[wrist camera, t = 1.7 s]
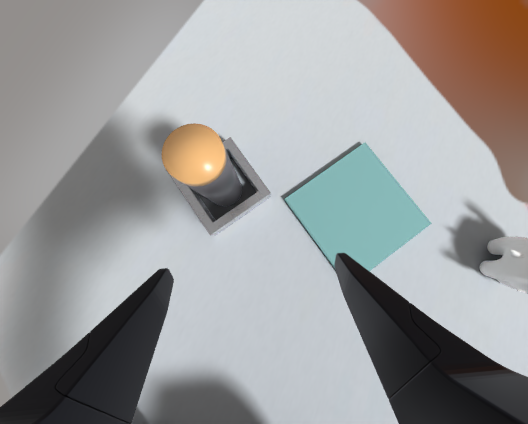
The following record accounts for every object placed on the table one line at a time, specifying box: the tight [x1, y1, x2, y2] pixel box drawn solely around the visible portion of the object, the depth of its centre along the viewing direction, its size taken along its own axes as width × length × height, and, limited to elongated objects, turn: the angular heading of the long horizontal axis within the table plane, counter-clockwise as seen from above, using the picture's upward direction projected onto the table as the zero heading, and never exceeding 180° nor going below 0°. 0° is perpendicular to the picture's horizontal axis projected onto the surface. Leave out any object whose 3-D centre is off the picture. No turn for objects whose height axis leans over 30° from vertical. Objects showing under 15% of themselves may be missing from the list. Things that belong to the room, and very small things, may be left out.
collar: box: [171, 137, 271, 235], centre depth 23 cm, size 8×8×2 cm
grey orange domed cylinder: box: [162, 124, 242, 206], centre depth 19 cm, size 4×4×11 cm
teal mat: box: [284, 143, 432, 271], centre depth 23 cm, size 13×13×1 cm
